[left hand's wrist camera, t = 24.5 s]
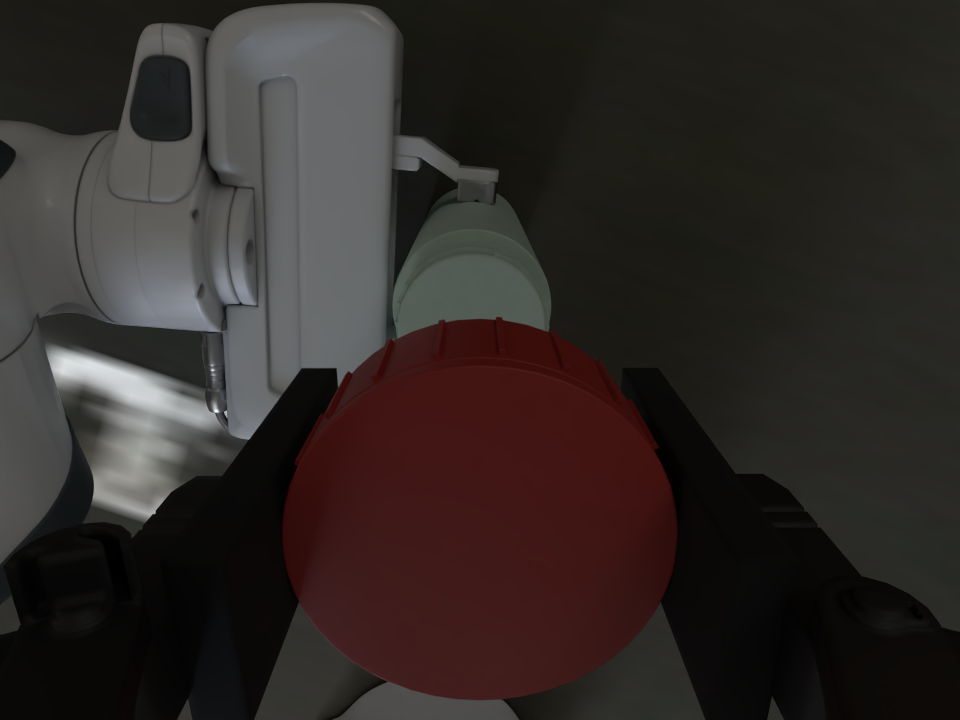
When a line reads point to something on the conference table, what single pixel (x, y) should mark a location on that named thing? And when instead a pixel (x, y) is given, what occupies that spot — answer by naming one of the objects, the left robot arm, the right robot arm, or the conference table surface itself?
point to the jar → (470, 269)
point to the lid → (479, 513)
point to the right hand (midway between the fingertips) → (490, 260)
